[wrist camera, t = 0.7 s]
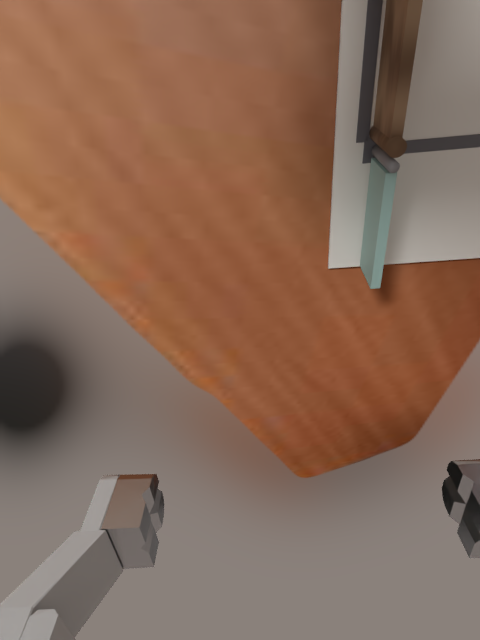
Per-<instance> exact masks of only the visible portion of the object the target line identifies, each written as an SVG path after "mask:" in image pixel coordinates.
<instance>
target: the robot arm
mask: <svg viewBox="0 0 480 640" xmlns="http://www.w3.org/2000/svg"><path fill="white" fill-rule="evenodd" d="M447 471H448V473H449V475H450V476H449V477H448V478H446V479H445V480H444V482H443V486H442V495H443V501H444V504H445V507H446V509H447V512H448V514H449V516H450V517H451V518H452V519H454V520H455V521H456V522H457V523H459V528H458V532H457V533H458V535H459V537H460V539H461V542H462V544H463V546H464V548H465V550H466V552H467V554H468V556H469V558H480V459H478V460H460V461H451V462H450V463H449V464H448V467H447ZM158 483H159V480H158V478H157V475H156V474H142V475H138V474H137V475H103V477H102V478H101V479H100V481H99V482H98V485H97V488H96V490H95V493H94V496H93V498H92V501H91V504H90V506H89V509H88V512H87V514H86V517H85V519H84V522H83V525H82V528H81V530H80V531H75V532H74V533H73V534H71V535H70V536H69V538H67V539H66V540H65V541H64V542H63V543H62V544H61V545H60V546H59V547H58V548H57V549H56V550H55V551H54V552H53V553H52V554H51V555H50V556H49V557H48V558H47V559H46V560H45V561H44V562H43V563H42V564H41V565H40V566H39V567H38V568H37V569H36V570H35V571H34V572H33V573H32V574H31V575H30V576H29V577H27V578H26V580H24V581H23V582H22V583H21V584H20V585H19V586H18V587H17V588H16V589H15V590H14V591H13V592H12V593H11V594H10V595H9V596H8V597H7V598H6V599H5V600H4V601H3V602H2V603H1V604H0V640H75V636H76V635H77V634H78V632H79V631H80V629H81V628H82V627H83V625H84V624H85V623H86V621H87V620H88V619H89V617H90V616H91V614H92V613H93V612H94V610H95V609H96V608H97V606H98V605H99V603H100V602H101V601H102V599H103V598H104V597H105V595H106V594H107V592H108V591H109V590H110V588H111V587H112V586H113V584H114V583H115V582H116V580H117V579H118V577H119V576H120V574H121V573H122V572H123V569H127V568H144V567H154V563H155V558H156V554H157V549H158V544H159V541H158V538H157V536H156V532H157V531H158V530H159V529H160V528H161V527H162V523H163V517H164V499H163V494H162V491H160V490H159V489H157V488H158Z"/></svg>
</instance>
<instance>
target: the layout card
mask: <svg viewBox="0 0 480 640" xmlns="http://www.w3.org/2000/svg"><path fill="white" fill-rule="evenodd" d="M385 9H386V0H342V6H341V25H340V44H339V63H338V82H337V102H336V121H335V140H334V159H333V178H332V198H331V217H330V236H329V255H328V269H329V268H343V267H357V266H360V258H361V249H362V240H363V230H364V221H365V212H366V203H367V193H368V184H369V175H370V165H371V158H375V157H374V156H373V155H372V152H371V151H372V148H373V147H374V146H376V145H377V144H376V143H375V142H374V141H373V140H372V139H371V138H370V136H369V133H370V129H371V127H372V126H373V123H374V114H375V104H376V95H377V85H378V76H379V66H380V57H381V47H382V38H383V28H384V19H385ZM403 139H404V140H405V141H406V143H407V149H406V151H405V153H404V154H403V155H402V156H400V157H398V158H394V159H395V160H396V161H397V162H398V163H399V164H400V168H399V170H398V171H397V178H396V185H395V192H394V198H393V205H392V212H391V219H390V225H389V232H388V239H387V246H386V252H385V259H384V265H386V264H400V263H414V262H428V261H442V260H457V259H471V258H480V0H423V3H422V10H421V17H420V24H419V30H418V37H417V44H416V51H415V57H414V64H413V71H412V77H411V84H410V91H409V98H408V104H407V111H406V118H405V124H404V131H403Z"/></svg>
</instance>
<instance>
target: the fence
mask: <svg viewBox="0 0 480 640" xmlns="http://www.w3.org/2000/svg"><path fill="white" fill-rule="evenodd" d="M422 3H423V0H386V9H385V19H384V28H383V38H382V47H381V57H380V66H379V76H378V85H377V95H376V104H375V114H374V123H373V126H372V127H371V129H370V133H369V136H370V138H371V139H372V140H373V141H374V142H375V143H376V144H377V145H378V146H379V147H380V148H381V149H383V150H384V151H385V152H386V153H387V154H388V155H389V156H390V157H392V158H398V157H400V156H402V155H403V154H404V153H405V151H406V149H407V143H406V141H405V140H404V139H403V131H404V124H405V118H406V111H407V104H408V98H409V91H410V84H411V77H412V71H413V64H414V57H415V51H416V44H417V37H418V30H419V24H420V17H421V10H422Z"/></svg>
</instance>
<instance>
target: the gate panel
mask: <svg viewBox="0 0 480 640" xmlns="http://www.w3.org/2000/svg"><path fill="white" fill-rule="evenodd" d="M371 152H372V155H373V156H374V157H375V158H371V165H370V175H369V184H368V193H367V203H366V212H365V221H364V230H363V240H362V249H361V258H360V267H361V269H362V271H363V274H364V276H365V278H366V280H367V282H368V284H369V286H370V289H374V288H380V286H381V279H382V272H383V266H384V259H385V252H386V246H387V239H388V232H389V225H390V219H391V212H392V205H393V198H394V192H395V185H396V178H397V171H398V170H399V168H400V164H399V163H398V162H397V161H396V160H395V159H394V158H392V157H390V156H389V155H388V154H387V153H386V152H385V151H384V150H383V149H381V148H380V147H379V146H378V145H376V146H374V147H373V148H372V151H371Z"/></svg>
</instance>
